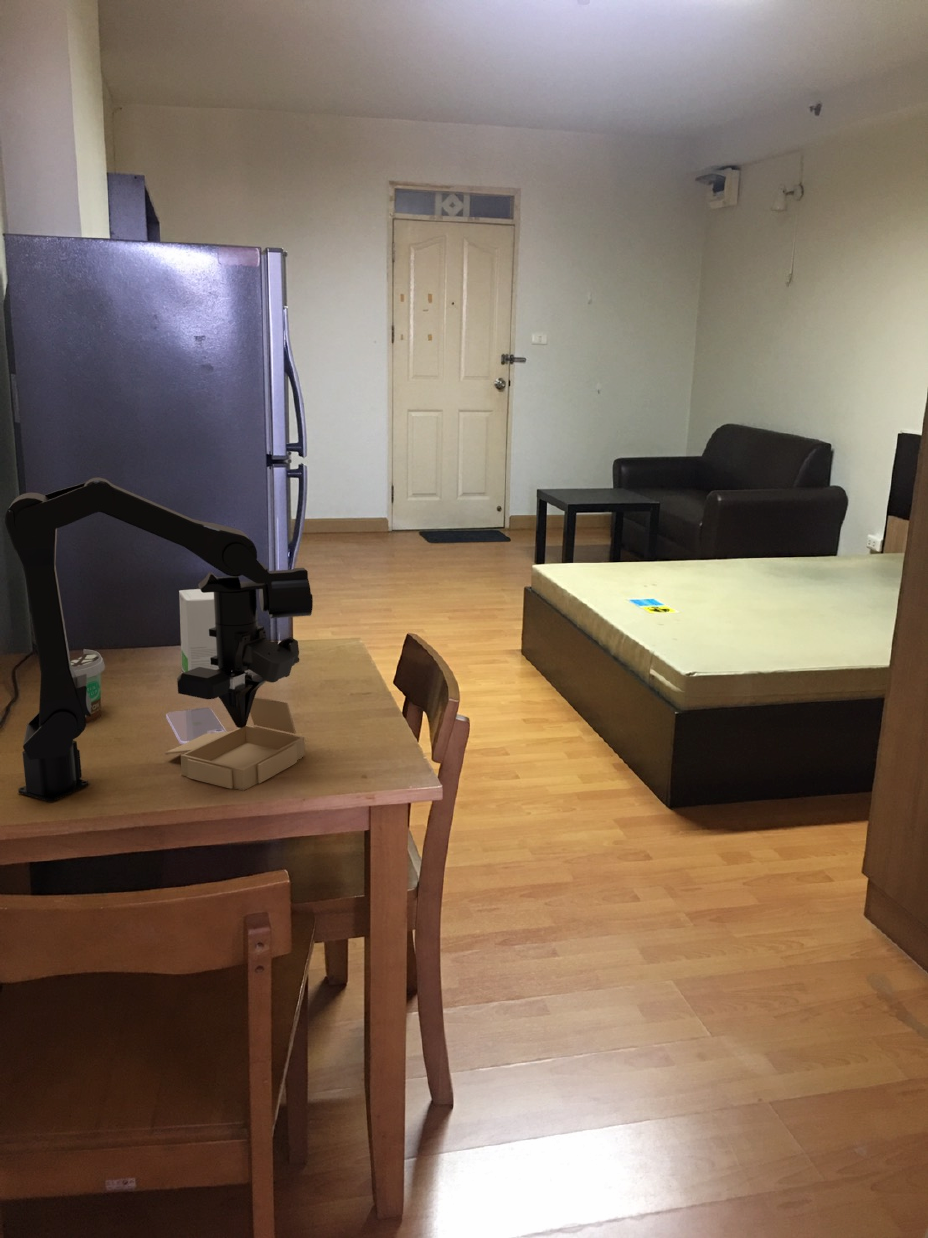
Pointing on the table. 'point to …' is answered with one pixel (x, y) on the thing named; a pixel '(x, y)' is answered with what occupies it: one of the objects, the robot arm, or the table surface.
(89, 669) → the food container
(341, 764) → the table surface
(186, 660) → the skincare box
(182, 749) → the left flap
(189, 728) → the mobile phone
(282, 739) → the carton
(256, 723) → the front flap
